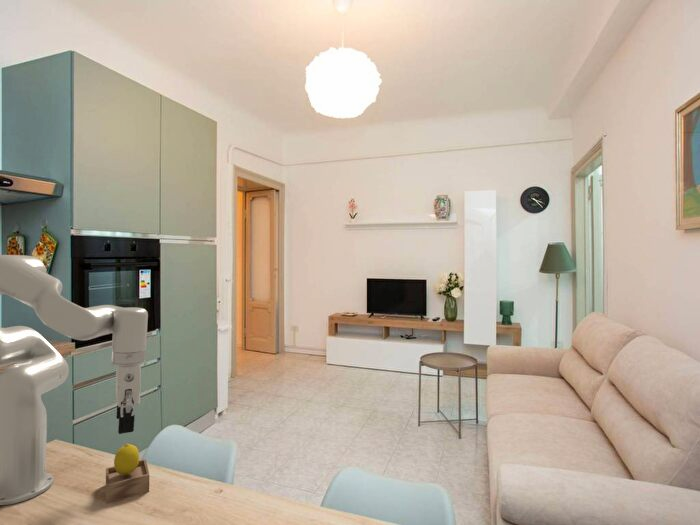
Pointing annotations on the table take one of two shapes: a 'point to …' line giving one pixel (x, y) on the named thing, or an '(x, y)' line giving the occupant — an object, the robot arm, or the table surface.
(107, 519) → the table surface
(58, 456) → the table surface
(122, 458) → the lemon
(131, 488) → the walnut tray
